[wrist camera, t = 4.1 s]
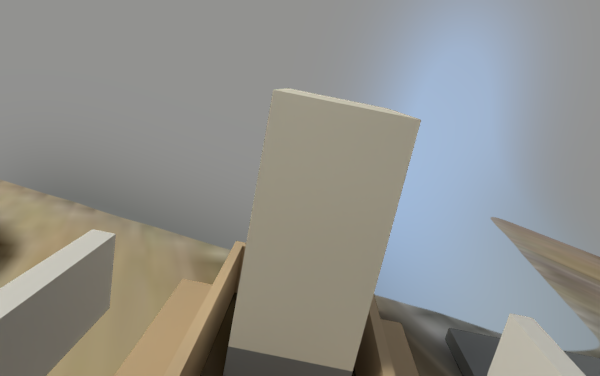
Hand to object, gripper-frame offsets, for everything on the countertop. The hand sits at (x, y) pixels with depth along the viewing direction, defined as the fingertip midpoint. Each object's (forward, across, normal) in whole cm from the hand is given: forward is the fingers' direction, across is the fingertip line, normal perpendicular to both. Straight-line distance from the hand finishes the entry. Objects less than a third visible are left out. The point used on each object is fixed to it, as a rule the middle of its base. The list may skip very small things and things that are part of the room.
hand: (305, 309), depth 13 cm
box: (+9, 0, -9) cm, 13 cm away
